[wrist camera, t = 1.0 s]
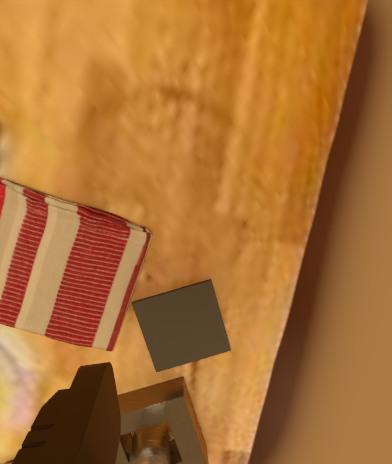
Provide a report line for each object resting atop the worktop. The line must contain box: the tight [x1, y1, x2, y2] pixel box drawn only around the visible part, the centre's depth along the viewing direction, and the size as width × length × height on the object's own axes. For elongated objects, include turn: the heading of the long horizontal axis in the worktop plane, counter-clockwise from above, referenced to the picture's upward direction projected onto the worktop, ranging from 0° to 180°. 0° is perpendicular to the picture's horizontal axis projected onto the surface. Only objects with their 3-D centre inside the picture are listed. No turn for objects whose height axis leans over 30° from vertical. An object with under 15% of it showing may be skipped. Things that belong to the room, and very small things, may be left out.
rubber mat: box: [132, 279, 231, 372], centre depth 38 cm, size 10×10×1 cm
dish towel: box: [0, 178, 153, 351], centre depth 35 cm, size 17×23×3 cm
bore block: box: [115, 377, 209, 464], centre depth 40 cm, size 12×12×4 cm
